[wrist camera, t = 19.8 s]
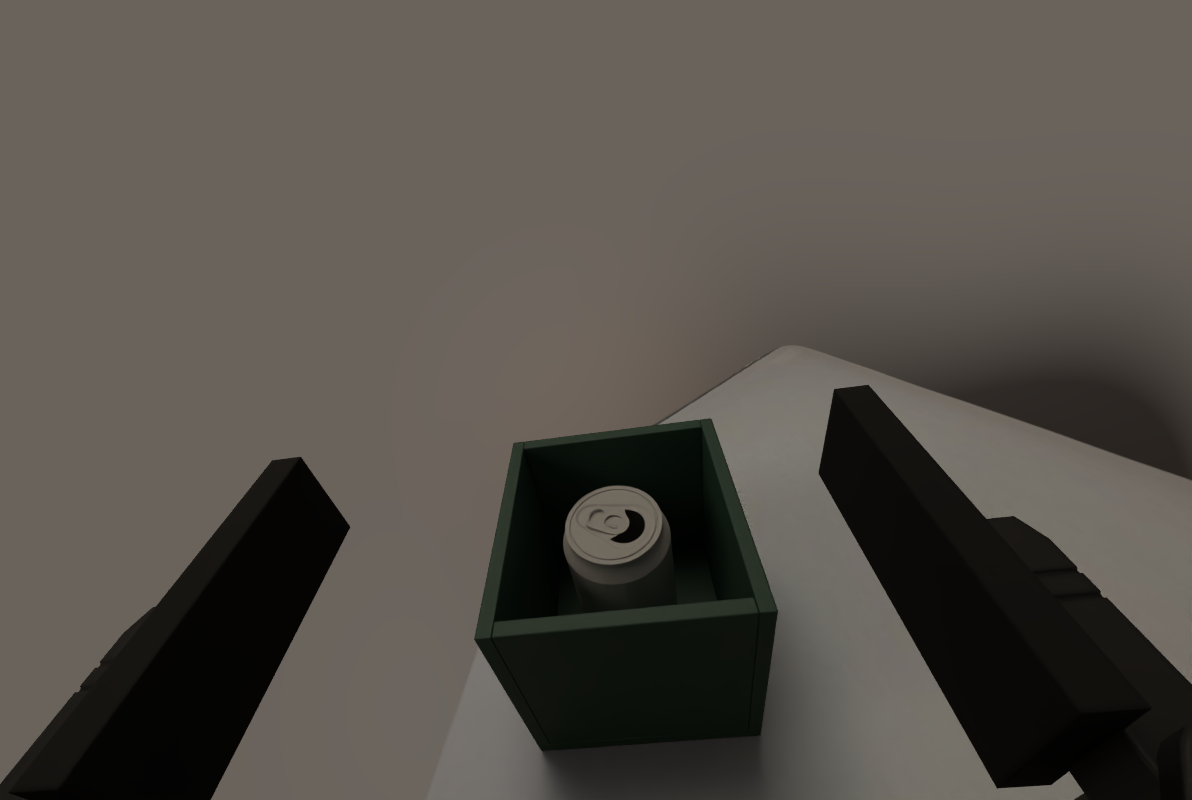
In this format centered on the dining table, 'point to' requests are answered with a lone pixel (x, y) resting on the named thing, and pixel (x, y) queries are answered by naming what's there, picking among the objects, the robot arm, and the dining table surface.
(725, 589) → the waste bin
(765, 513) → the dining table surface
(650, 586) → the beverage can
